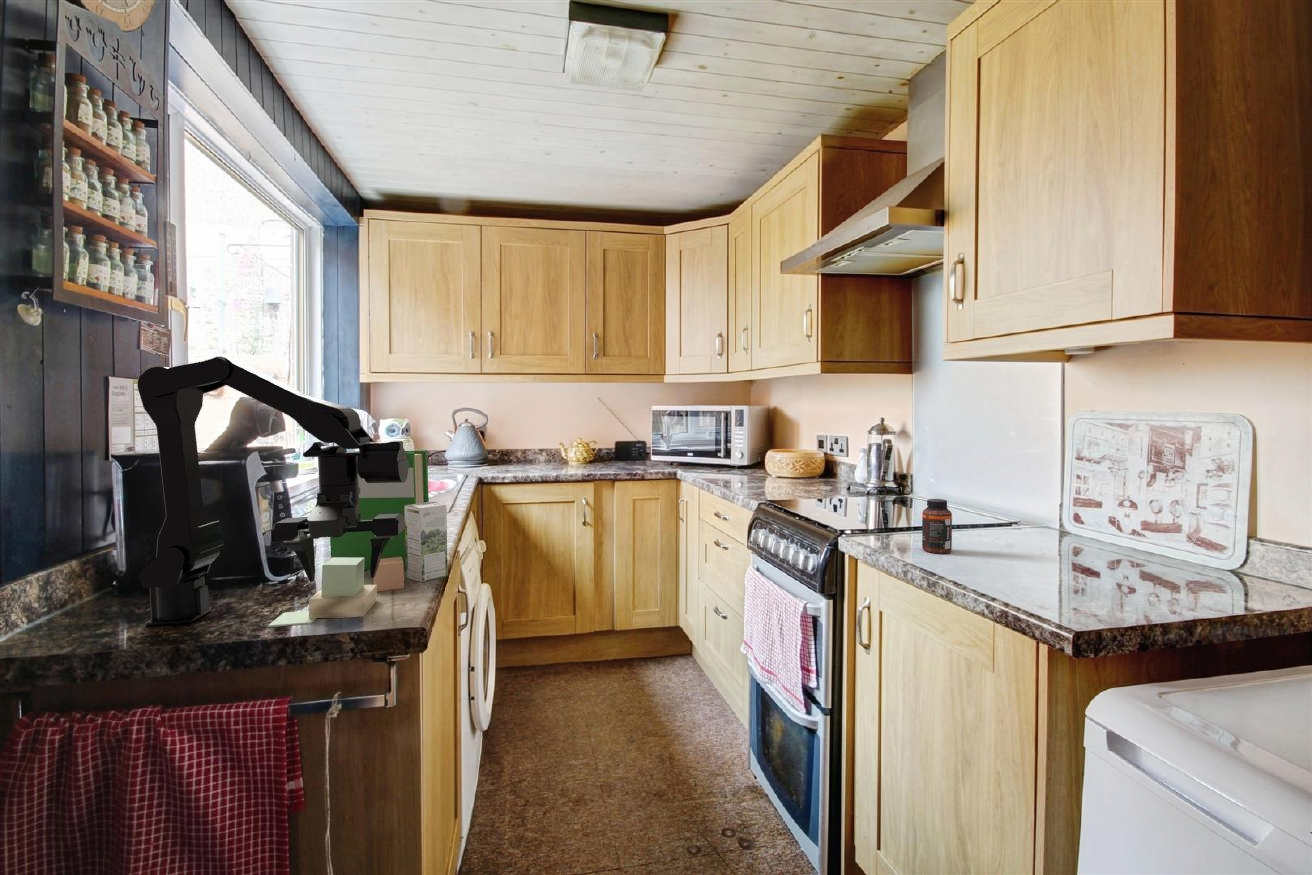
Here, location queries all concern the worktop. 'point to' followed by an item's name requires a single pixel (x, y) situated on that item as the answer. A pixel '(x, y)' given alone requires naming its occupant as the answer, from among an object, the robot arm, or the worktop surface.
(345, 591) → the sage cube
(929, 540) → the supplement bottle
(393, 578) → the terracotta cube
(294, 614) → the sage swatch
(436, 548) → the syrup box
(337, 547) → the hardback book
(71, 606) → the worktop surface
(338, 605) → the beech block
